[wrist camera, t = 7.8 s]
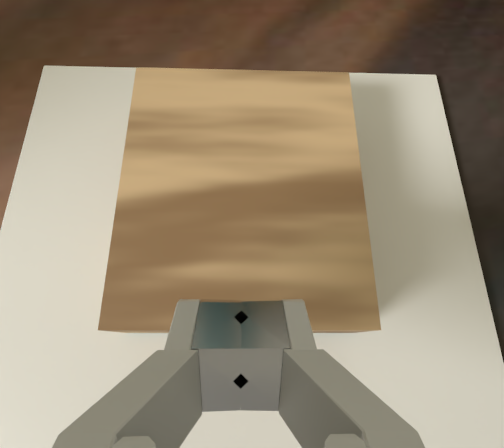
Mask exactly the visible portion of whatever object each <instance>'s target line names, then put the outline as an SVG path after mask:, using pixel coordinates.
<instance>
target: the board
mask: <svg viewBox="0 0 504 448" xmlns="http://www.w3.org/2000/svg"><path fill="white" fill-rule="evenodd" d="M135 72H136V68H124V67H82V66H44V68H43V71H42V75H41V79H40V83H39V86H38V90H37V94H36V98H35V102H34V105H33V109H32V113H31V117H30V120H29V124H28V128H27V132H26V136H25V139H24V143H23V147H22V151H21V154H20V158H19V162H18V166H17V170H16V173H15V177H14V181H13V185H12V188H11V192H10V196H9V200H8V204H7V207H6V211H5V215H4V219H3V222H2V226H1V230H0V448H52V447H53V445H54V443H55V441H56V439H57V437H58V435H59V434H60V433H61V432H62V431H63V430H65V429H66V428H67V427H68V426H69V425H70V424H72V423H73V422H74V421H75V420H76V419H77V418H79V417H80V416H81V415H82V414H83V413H84V412H86V411H87V410H88V409H89V408H90V407H91V406H93V405H94V404H95V403H96V402H97V401H98V400H100V399H101V398H102V397H103V396H104V395H105V394H107V393H108V392H109V391H110V390H111V389H112V388H114V387H115V386H116V385H117V384H118V383H119V382H121V381H122V380H123V379H124V378H125V377H126V376H128V375H129V374H130V373H131V372H132V371H133V370H135V369H136V368H137V367H138V366H139V365H140V364H142V363H143V362H144V361H145V360H146V359H147V358H149V357H150V356H151V355H152V354H153V353H154V352H156V351H157V350H164V348H165V344H166V341H167V337H168V334H169V333H121V332H111V331H101V330H98V325H99V318H100V311H101V304H102V297H103V291H104V284H105V277H106V270H107V263H108V256H109V250H110V243H111V236H112V229H113V222H114V215H115V209H116V202H117V195H118V188H119V181H120V174H121V168H122V161H123V154H124V147H125V140H126V133H127V127H128V120H129V113H130V106H131V99H132V92H133V86H134V79H135ZM349 76H350V84H351V92H352V100H353V108H354V116H355V124H356V132H357V140H358V148H359V156H360V164H361V172H362V180H363V188H364V196H365V204H366V212H367V220H368V228H369V236H370V244H371V252H372V260H373V268H374V276H375V284H376V292H377V300H378V308H379V316H380V324H381V330H378V331H367V332H357V333H313V336H314V340H315V343H316V347H317V349H324V350H325V351H326V352H327V353H328V354H330V355H331V356H332V357H333V358H334V359H335V360H336V361H338V362H339V363H340V364H341V365H342V366H343V367H344V368H346V369H347V370H348V371H349V372H350V373H351V374H352V375H354V376H355V377H356V378H357V379H358V380H359V381H360V382H362V383H363V384H364V385H365V386H366V387H367V388H368V389H370V390H371V391H372V392H373V393H374V394H375V395H376V396H378V397H379V398H380V399H381V400H382V401H383V402H384V403H386V404H387V405H388V406H389V407H390V408H391V409H392V410H394V411H395V412H396V413H397V414H398V415H399V416H400V417H402V418H403V419H404V420H405V421H406V422H407V423H408V424H410V425H411V426H412V427H413V428H414V429H415V430H417V431H418V434H419V436H420V438H421V440H422V442H423V444H424V446H425V448H504V363H503V358H502V354H501V350H500V346H499V341H498V337H497V333H496V329H495V324H494V320H493V316H492V311H491V307H490V303H489V299H488V294H487V290H486V286H485V282H484V277H483V273H482V269H481V265H480V260H479V256H478V252H477V248H476V243H475V239H474V235H473V231H472V226H471V222H470V218H469V214H468V209H467V205H466V201H465V196H464V192H463V188H462V184H461V179H460V175H459V171H458V167H457V162H456V158H455V154H454V150H453V145H452V141H451V137H450V133H449V128H448V124H447V120H446V116H445V111H444V107H443V103H442V99H441V94H440V90H439V86H438V82H437V77H436V75H419V74H377V73H349ZM179 448H302V447H301V446H300V444H299V443H298V441H297V440H296V438H295V437H294V435H293V434H292V432H291V431H290V429H289V428H288V426H287V425H286V423H285V422H284V420H283V419H282V417H281V416H280V414H279V411H247V410H241V409H240V410H236V411H211V412H202V415H201V417H200V418H199V420H198V421H197V423H196V424H195V426H194V427H193V428H192V430H191V431H190V433H189V434H188V436H187V437H186V439H185V440H184V442H183V443H182V444H181V446H180V447H179Z"/></svg>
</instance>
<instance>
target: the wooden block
mask: <svg viewBox="0 0 504 448" xmlns="http://www.w3.org/2000/svg"><path fill="white" fill-rule="evenodd" d="M180 299H199V300H201V299H213V300H284V299H302V300H303V301H304V302H305V306H306V310H307V313H308V317H309V321H310V325H311V328H312V332H313V333H357V332H367V331H378V330H381V324H380V316H379V308H378V300H377V292H376V284H375V276H374V268H373V260H372V252H371V244H370V236H369V228H368V220H367V212H366V204H365V196H364V188H363V180H362V172H361V164H360V156H359V148H358V140H357V132H356V124H355V116H354V108H353V100H352V92H351V84H350V76H349V72H309V71H267V70H225V69H183V68H141V67H136V72H135V79H134V86H133V92H132V99H131V106H130V113H129V120H128V127H127V133H126V140H125V147H124V154H123V161H122V168H121V174H120V181H119V188H118V195H117V202H116V209H115V215H114V222H113V229H112V236H111V243H110V250H109V256H108V263H107V270H106V277H105V284H104V291H103V297H102V304H101V311H100V318H99V325H98V330H101V331H111V332H121V333H169V330H170V326H171V323H172V319H173V316H174V312H175V308H176V305H177V302H178V301H179V300H180Z"/></svg>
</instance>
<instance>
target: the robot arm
mask: <svg viewBox="0 0 504 448" xmlns="http://www.w3.org/2000/svg"><path fill="white" fill-rule="evenodd" d="M240 409H241V410H247V411H279V414H280V416H281V417H282V419H283V420H284V422H285V423H286V425H287V426H288V428H289V429H290V431H291V432H292V434H293V435H294V437H295V438H296V440H297V441H298V443H299V444H300V446H301V447H302V448H425V446H424V444H423V442H422V440H421V438H420V436H419V434H418V431H417V430H415V429H414V428H413V427H412V426H411V425H410V424H408V423H407V422H406V421H405V420H404V419H403V418H402V417H400V416H399V415H398V414H397V413H396V412H395V411H394V410H392V409H391V408H390V407H389V406H388V405H387V404H386V403H384V402H383V401H382V400H381V399H380V398H379V397H378V396H376V395H375V394H374V393H373V392H372V391H371V390H370V389H368V388H367V387H366V386H365V385H364V384H363V383H362V382H360V381H359V380H358V379H357V378H356V377H355V376H354V375H352V374H351V373H350V372H349V371H348V370H347V369H346V368H344V367H343V366H342V365H341V364H340V363H339V362H338V361H336V360H335V359H334V358H333V357H332V356H331V355H330V354H328V353H327V352H326V351H325V350H324V349H317V347H316V343H315V340H314V336H313V332H312V328H311V325H310V321H309V317H308V313H307V310H306V306H305V302H304V301H303V300H302V299H284V300H213V299H201V300H199V299H180V300H179V301H178V302H177V305H176V308H175V312H174V316H173V319H172V323H171V326H170V330H169V334H168V337H167V341H166V344H165V348H164V350H157V351H156V352H154V353H153V354H152V355H151V356H150V357H149V358H147V359H146V360H145V361H144V362H143V363H142V364H140V365H139V366H138V367H137V368H136V369H135V370H133V371H132V372H131V373H130V374H129V375H128V376H126V377H125V378H124V379H123V380H122V381H121V382H119V383H118V384H117V385H116V386H115V387H114V388H112V389H111V390H110V391H109V392H108V393H107V394H105V395H104V396H103V397H102V398H101V399H100V400H98V401H97V402H96V403H95V404H94V405H93V406H91V407H90V408H89V409H88V410H87V411H86V412H84V413H83V414H82V415H81V416H80V417H79V418H77V419H76V420H75V421H74V422H73V423H72V424H70V425H69V426H68V427H67V428H66V429H65V430H63V431H62V432H61V433H60V434H59V435H58V437H57V439H56V441H55V443H54V445H53V447H52V448H179V447H180V446H181V444H182V443H183V442H184V440H185V439H186V437H187V436H188V434H189V433H190V431H191V430H192V428H193V427H194V426H195V424H196V423H197V421H198V420H199V418H200V417H201V415H202V412H211V411H236V410H240Z"/></svg>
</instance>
